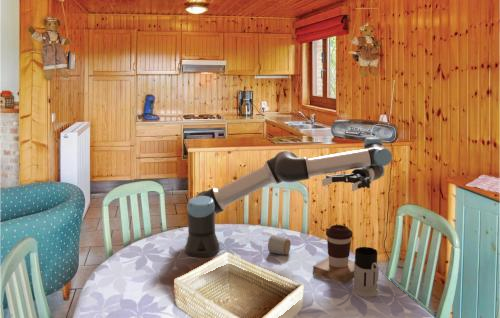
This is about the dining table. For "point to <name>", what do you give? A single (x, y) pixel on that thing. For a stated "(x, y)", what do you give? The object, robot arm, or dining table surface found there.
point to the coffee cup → (338, 245)
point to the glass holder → (365, 272)
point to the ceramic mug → (279, 245)
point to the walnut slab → (335, 271)
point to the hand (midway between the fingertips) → (337, 185)
